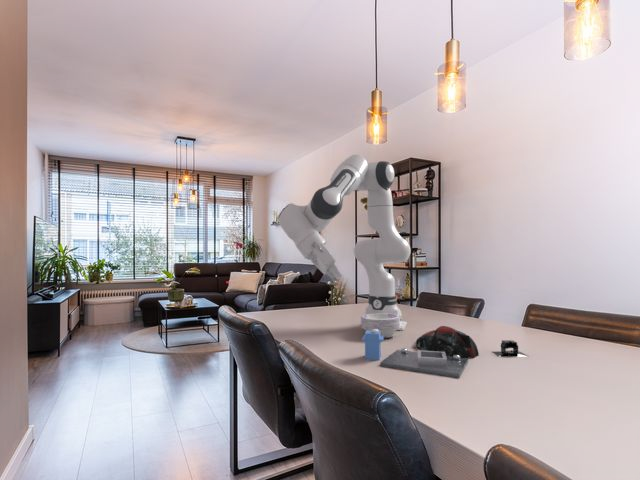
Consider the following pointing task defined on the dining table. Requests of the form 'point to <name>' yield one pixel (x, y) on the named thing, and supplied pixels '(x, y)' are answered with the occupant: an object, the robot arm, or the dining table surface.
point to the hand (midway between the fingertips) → (338, 279)
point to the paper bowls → (381, 323)
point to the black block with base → (509, 344)
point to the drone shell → (448, 342)
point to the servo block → (372, 344)
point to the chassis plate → (412, 364)
